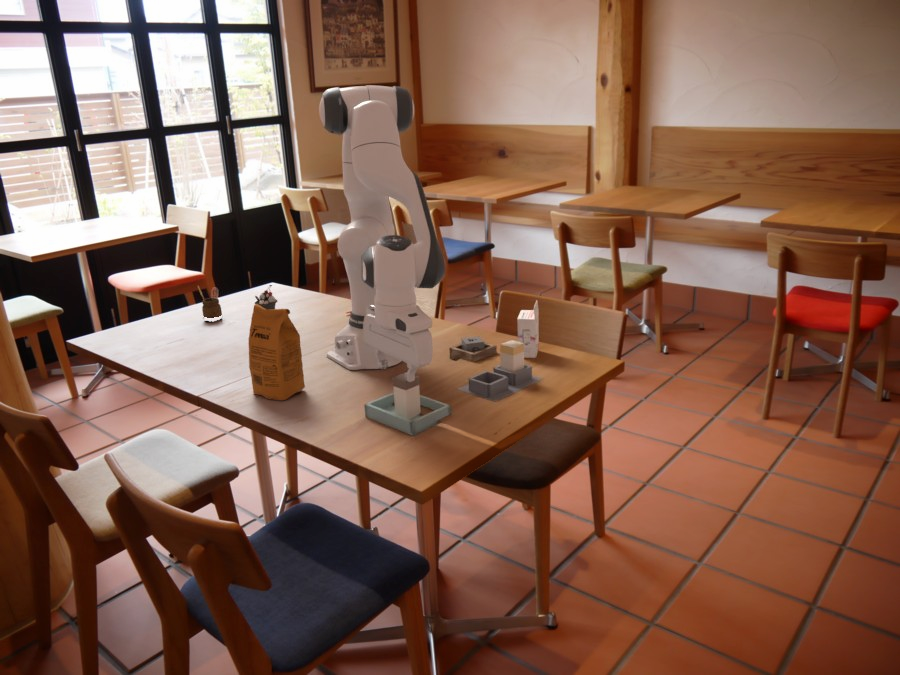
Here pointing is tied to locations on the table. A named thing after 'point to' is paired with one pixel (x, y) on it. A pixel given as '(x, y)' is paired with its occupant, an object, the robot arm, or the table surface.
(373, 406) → the tray
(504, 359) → the block
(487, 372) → the block
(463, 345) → the dice cube
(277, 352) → the coffee package
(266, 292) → the sundae
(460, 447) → the table surface
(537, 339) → the ink cartridge box
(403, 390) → the block
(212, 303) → the utensil holder
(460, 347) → the dice corral
